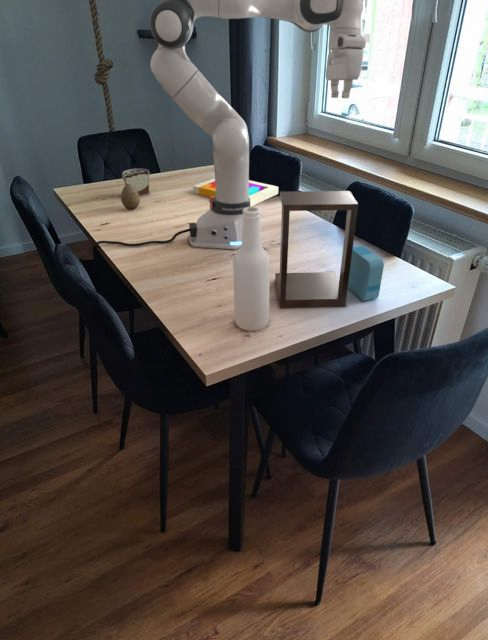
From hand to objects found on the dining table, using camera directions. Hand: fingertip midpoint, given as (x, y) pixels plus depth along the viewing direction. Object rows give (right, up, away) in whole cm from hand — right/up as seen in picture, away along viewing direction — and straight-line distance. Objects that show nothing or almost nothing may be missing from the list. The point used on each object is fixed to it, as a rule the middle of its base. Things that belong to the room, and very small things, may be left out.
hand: (339, 98), depth 142 cm
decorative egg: (-75, -18, +51) cm, 92 cm away
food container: (-77, -8, +65) cm, 101 cm away
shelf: (-9, -58, -4) cm, 59 cm away
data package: (+5, -58, -3) cm, 58 cm away
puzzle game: (-37, -8, +65) cm, 75 cm away
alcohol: (-26, -67, -17) cm, 74 cm away
